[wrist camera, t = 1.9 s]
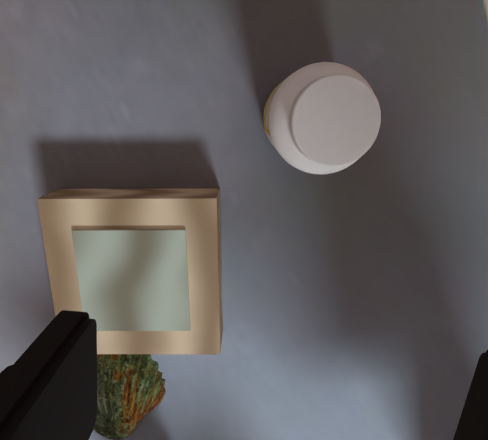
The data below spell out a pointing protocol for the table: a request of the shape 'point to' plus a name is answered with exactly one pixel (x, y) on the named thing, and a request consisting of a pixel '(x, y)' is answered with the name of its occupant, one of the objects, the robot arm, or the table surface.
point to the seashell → (125, 392)
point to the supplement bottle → (322, 118)
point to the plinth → (138, 266)
